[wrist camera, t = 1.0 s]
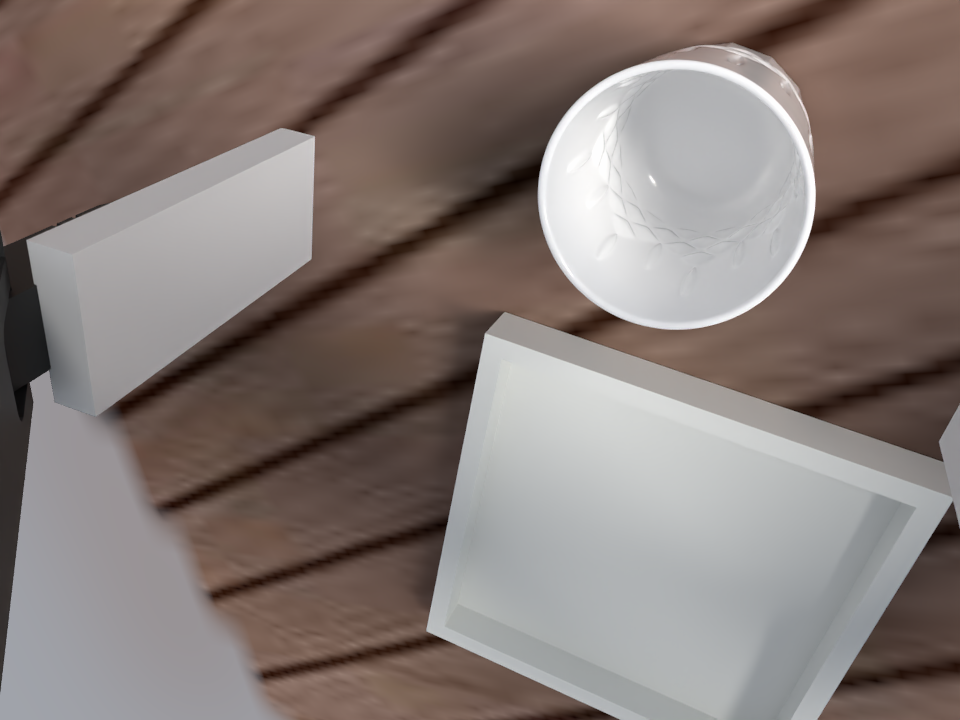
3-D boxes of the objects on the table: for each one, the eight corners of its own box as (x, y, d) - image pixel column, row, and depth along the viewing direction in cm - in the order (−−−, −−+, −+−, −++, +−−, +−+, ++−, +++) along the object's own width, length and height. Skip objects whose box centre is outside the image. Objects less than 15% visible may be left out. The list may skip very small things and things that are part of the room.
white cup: (622, 235, 35) (552, 328, 27) (606, 39, 32) (521, 76, 23) (822, 228, 32) (812, 332, 23) (827, 10, 28) (818, 42, 20)
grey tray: (948, 463, 34) (954, 498, 32) (777, 749, 44) (773, 789, 42) (504, 311, 39) (485, 333, 37) (444, 601, 49) (426, 630, 47)
